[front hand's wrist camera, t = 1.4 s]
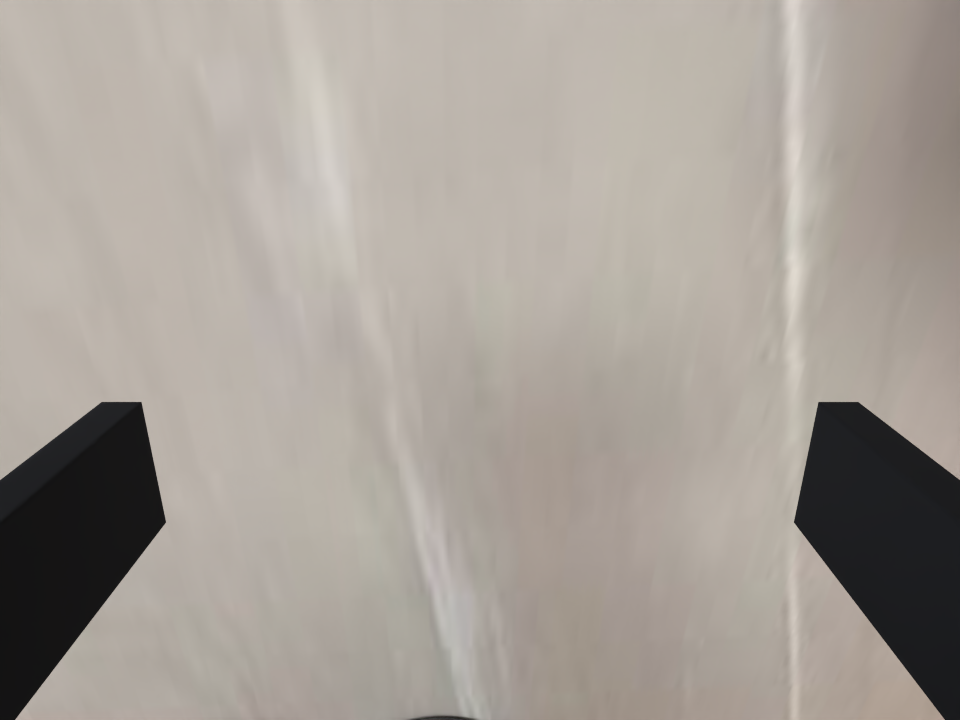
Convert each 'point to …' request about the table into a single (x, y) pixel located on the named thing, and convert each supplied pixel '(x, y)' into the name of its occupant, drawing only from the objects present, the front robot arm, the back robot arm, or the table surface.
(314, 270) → the table surface
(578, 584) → the table surface
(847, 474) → the front robot arm
